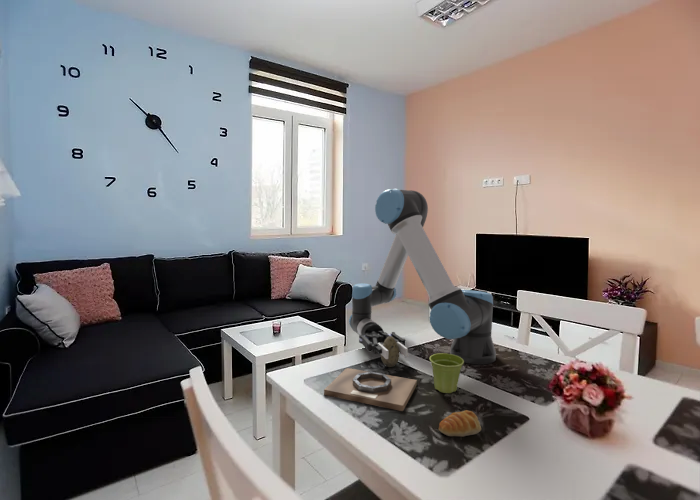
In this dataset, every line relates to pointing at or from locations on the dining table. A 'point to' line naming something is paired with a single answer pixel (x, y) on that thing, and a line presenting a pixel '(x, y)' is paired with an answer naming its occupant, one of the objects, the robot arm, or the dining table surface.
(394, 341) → the decorative egg
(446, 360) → the plant pot
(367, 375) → the ring socket
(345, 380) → the walnut board
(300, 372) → the dining table surface
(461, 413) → the pastry
